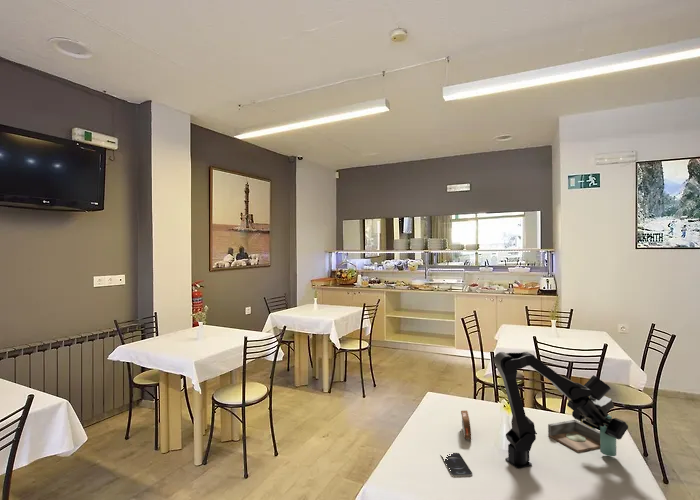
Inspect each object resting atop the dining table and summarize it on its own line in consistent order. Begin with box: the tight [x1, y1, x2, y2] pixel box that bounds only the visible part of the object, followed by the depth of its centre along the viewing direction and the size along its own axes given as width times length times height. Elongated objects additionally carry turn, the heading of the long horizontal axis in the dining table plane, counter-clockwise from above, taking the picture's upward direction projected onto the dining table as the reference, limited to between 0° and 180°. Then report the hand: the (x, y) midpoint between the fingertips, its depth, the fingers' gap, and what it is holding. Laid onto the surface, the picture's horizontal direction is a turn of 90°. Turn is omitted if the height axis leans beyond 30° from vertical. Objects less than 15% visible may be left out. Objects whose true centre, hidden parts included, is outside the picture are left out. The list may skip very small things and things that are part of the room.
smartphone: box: [441, 452, 473, 478], centre depth 139 cm, size 8×1×15 cm
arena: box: [547, 419, 600, 453], centre depth 155 cm, size 14×14×5 cm
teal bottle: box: [599, 414, 617, 457], centre depth 143 cm, size 5×5×14 cm
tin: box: [460, 410, 472, 440], centre depth 162 cm, size 15×3×8 cm, turn 168°
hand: (610, 434), depth 144 cm, fingers closed on teal bottle, 5 cm apart
